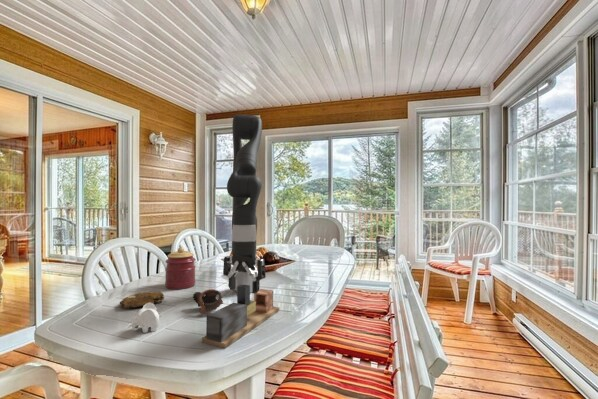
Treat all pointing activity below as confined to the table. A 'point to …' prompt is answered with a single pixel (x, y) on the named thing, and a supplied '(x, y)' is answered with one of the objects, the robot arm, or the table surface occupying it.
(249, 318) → the block assembly on base
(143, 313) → the elephant figurine
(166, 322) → the table surface
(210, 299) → the pottery mug
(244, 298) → the olive bar with post
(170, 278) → the canister
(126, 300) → the decorative rock
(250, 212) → the robot arm
